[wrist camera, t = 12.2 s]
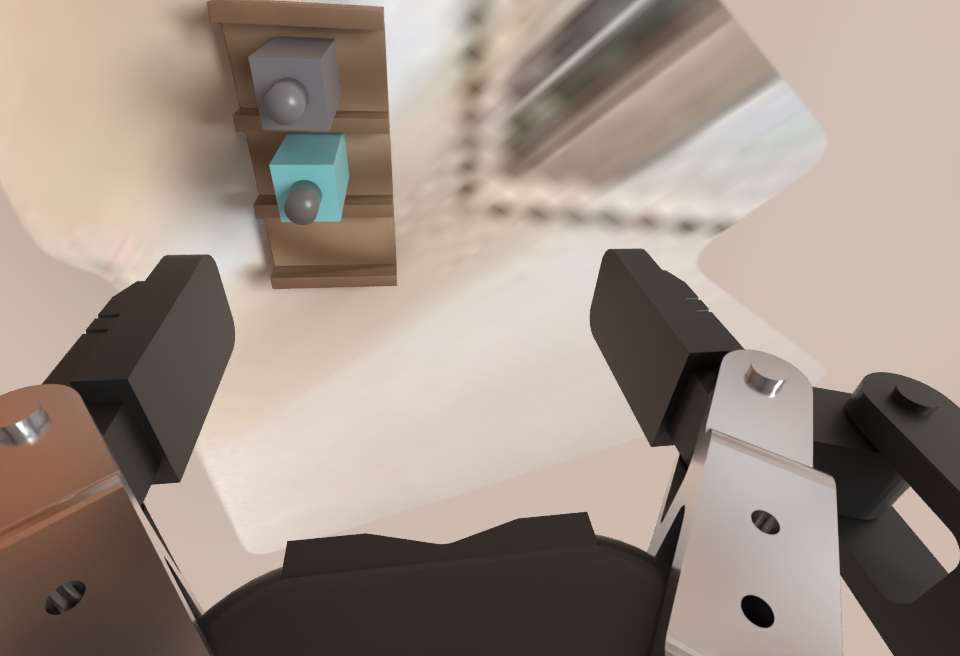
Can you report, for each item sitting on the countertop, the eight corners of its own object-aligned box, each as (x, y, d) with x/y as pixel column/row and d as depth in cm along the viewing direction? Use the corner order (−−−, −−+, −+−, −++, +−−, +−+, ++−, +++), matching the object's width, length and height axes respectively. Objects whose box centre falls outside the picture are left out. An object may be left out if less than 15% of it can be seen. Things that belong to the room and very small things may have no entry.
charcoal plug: (277, 35, 31) (236, 65, 23) (335, 38, 32) (315, 68, 24) (286, 96, 34) (253, 142, 25) (341, 98, 34) (325, 144, 26)
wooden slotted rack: (221, -3, 31) (206, 1, 28) (383, 6, 32) (382, 11, 30) (279, 269, 43) (272, 288, 40) (396, 266, 44) (396, 285, 42)
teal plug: (291, 126, 35) (260, 179, 27) (343, 127, 35) (329, 179, 27) (300, 176, 37) (274, 239, 29) (349, 176, 37) (337, 238, 29)
